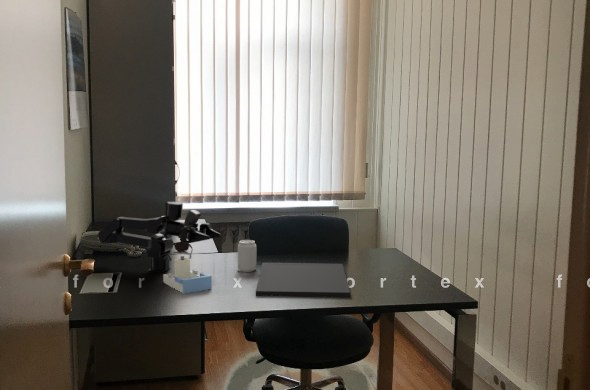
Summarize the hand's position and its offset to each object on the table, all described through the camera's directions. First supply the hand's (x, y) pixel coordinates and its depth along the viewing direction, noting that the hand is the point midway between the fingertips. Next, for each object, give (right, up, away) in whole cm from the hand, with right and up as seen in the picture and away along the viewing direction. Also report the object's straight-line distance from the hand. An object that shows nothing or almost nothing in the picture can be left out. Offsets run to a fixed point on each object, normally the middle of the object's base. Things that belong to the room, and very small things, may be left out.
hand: (215, 236), depth 240 cm
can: (+11, -15, +13) cm, 23 cm away
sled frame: (-9, -17, -10) cm, 22 cm away
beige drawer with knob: (-11, -17, -7) cm, 21 cm away
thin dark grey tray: (+33, -17, -1) cm, 38 cm away
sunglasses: (-21, -11, +37) cm, 44 cm away
